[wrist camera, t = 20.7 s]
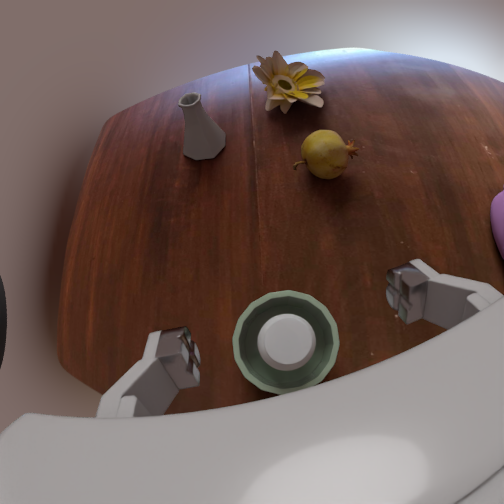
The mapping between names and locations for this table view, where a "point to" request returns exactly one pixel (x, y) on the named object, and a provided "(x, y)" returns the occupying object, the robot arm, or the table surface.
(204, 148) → the flask
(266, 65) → the decorative flower
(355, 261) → the table surface
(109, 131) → the table surface
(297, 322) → the pill bottle
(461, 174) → the table surface
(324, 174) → the fruit
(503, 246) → the teapot
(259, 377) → the crock
